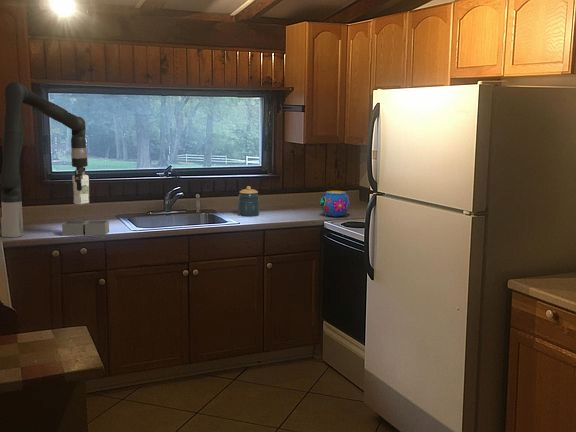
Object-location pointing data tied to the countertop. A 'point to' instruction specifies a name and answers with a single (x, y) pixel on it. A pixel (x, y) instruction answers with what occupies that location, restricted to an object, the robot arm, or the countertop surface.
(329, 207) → the ceramic pot
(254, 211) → the canister
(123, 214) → the countertop surface
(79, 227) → the bin
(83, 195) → the syrup box
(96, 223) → the bin
